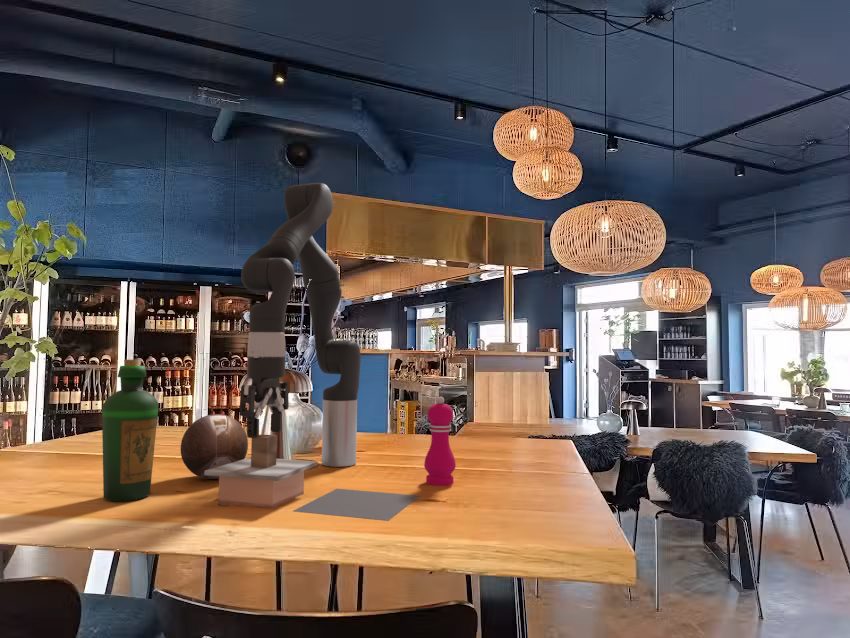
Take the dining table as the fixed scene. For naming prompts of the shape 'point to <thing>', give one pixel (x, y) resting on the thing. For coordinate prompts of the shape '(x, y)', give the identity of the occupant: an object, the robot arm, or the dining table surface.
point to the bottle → (129, 436)
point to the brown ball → (213, 444)
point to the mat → (359, 504)
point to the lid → (262, 463)
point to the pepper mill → (440, 445)
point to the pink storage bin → (259, 491)
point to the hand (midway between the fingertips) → (264, 434)
